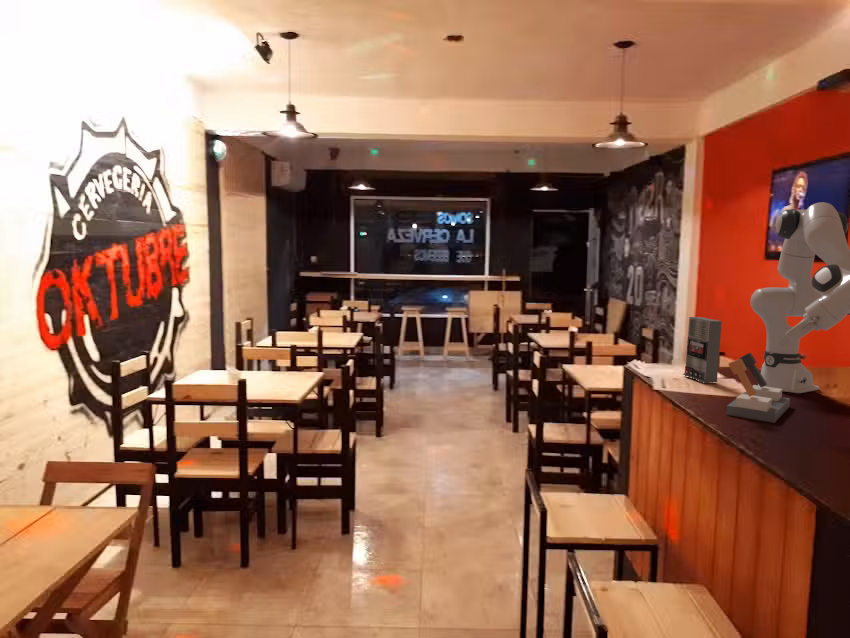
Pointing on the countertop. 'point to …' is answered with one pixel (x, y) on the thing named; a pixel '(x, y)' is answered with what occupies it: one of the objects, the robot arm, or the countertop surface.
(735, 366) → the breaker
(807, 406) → the countertop surface
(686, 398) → the countertop surface
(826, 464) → the countertop surface
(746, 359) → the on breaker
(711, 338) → the cassette tape recorder
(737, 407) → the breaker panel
